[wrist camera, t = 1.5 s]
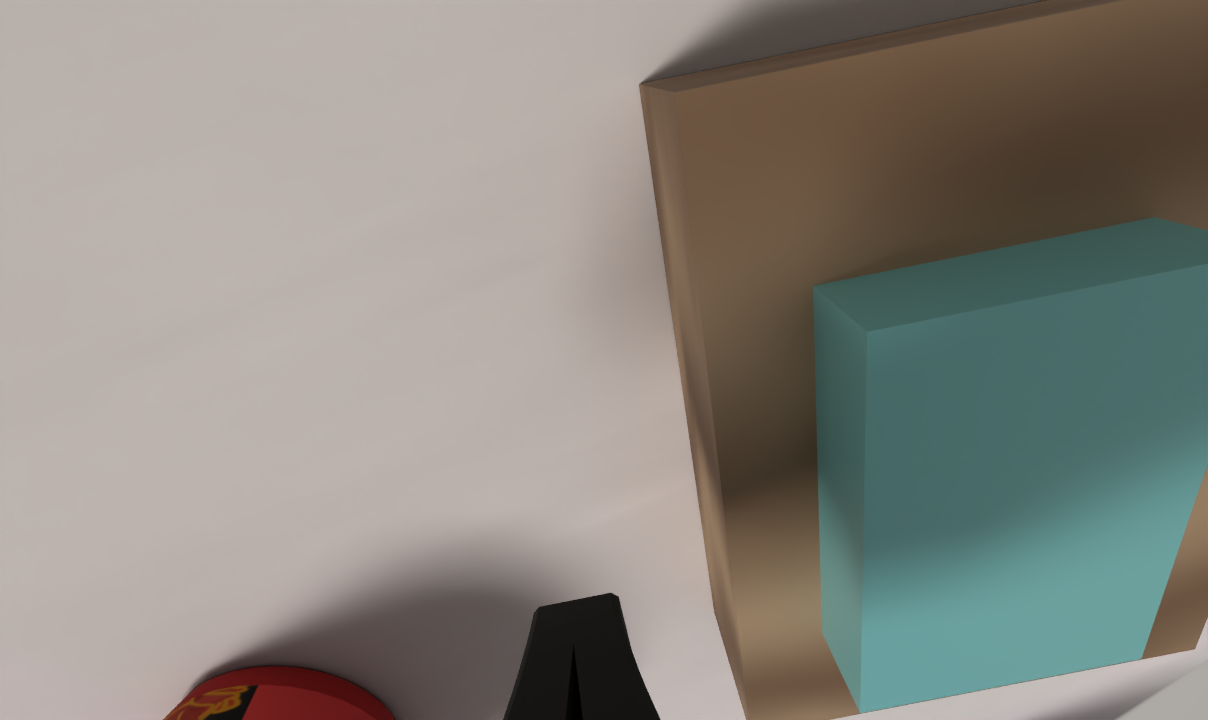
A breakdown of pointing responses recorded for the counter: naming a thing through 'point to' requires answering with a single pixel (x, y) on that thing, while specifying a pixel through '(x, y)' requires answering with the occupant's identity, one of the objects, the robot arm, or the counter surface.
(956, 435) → the teal rectangular block
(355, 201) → the counter surface
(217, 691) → the canned food
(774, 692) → the board
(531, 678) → the robot arm
